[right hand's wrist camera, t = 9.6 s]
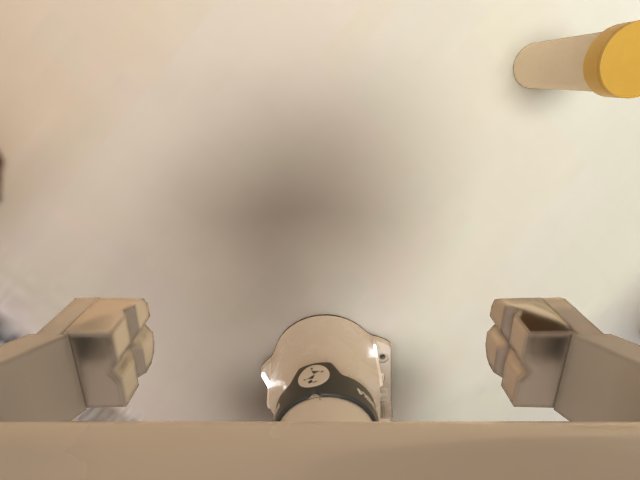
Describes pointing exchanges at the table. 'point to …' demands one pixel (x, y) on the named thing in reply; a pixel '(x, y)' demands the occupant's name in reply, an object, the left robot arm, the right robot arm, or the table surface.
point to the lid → (614, 62)
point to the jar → (554, 63)
